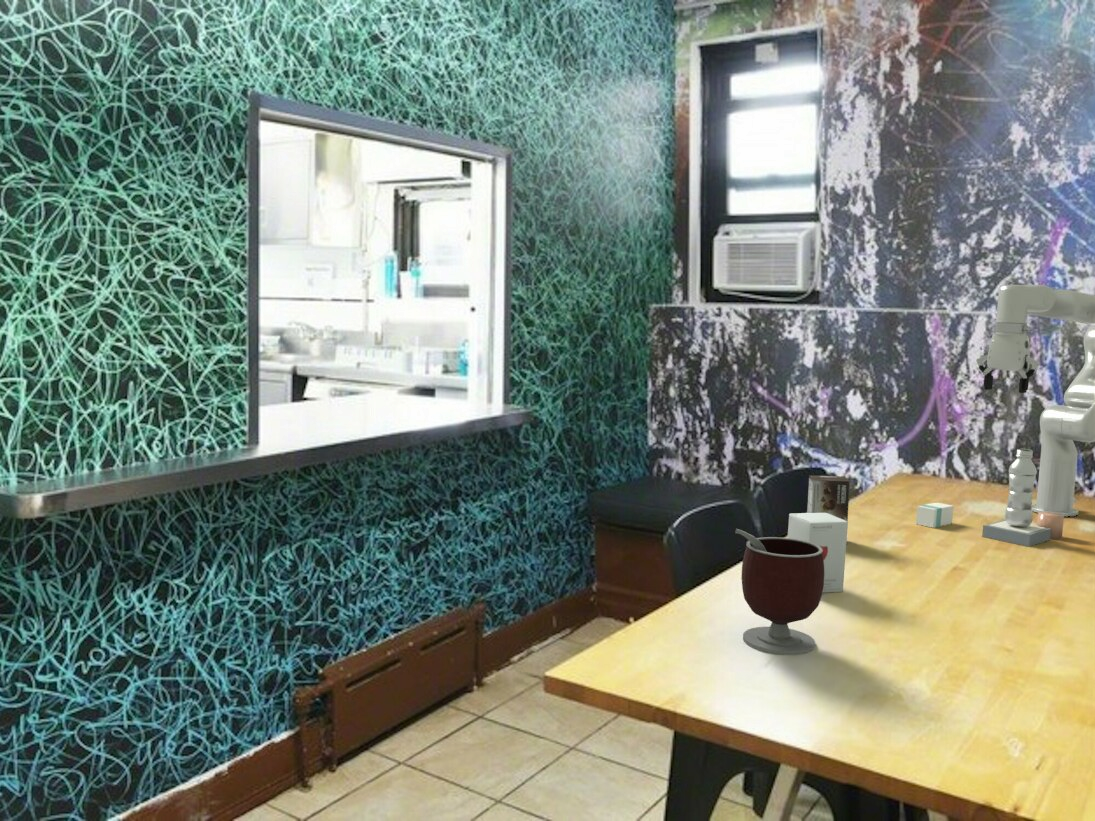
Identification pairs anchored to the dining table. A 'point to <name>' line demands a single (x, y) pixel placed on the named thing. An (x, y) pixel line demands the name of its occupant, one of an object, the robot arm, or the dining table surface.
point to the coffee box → (829, 495)
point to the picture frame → (1016, 533)
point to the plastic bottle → (1021, 489)
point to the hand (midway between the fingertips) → (1005, 391)
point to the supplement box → (823, 543)
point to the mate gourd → (781, 590)
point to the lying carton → (934, 514)
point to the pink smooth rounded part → (1052, 523)
